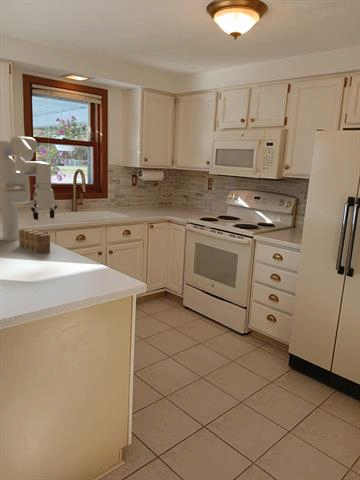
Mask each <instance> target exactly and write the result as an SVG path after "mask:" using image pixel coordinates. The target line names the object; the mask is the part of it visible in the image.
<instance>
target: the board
mask: <svg viewBox="0 0 360 480" xmlns="http://www.w3.org/2000/svg"><path fill="white" fill-rule="evenodd" d="M16 248H18V249H21V250H24V251H27V252H31V253H33V254H36V255H39V256H40V255H42V254H41V253H40V252H35V250H32V251H31V250H29V249H25V248H24V247H19V246H16ZM51 253H53V251H51V250H50V252H49V253H44V254H43V255H46V254H51Z"/></svg>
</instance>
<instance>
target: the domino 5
mask: <svg viewBox="0 0 360 480" xmlns="http://www.w3.org/2000/svg"><path fill="white" fill-rule="evenodd" d="M39 237H40V253H41V255H45V254H44V253H47V254H50V253H49V252H50V251H51V234H49V233H46V234H45V233H44V235H39Z"/></svg>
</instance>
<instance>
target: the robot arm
mask: <svg viewBox="0 0 360 480" xmlns="http://www.w3.org/2000/svg"><path fill="white" fill-rule="evenodd" d="M37 149H38V143H37V141H36V139H35V138H33V137H30V136H18V135H17V136H13V137H11V138H10V140H1V141H0V181H1V184H2V185H3V186H5V187H19V188H4V189H2V190H0V207H1V217H2V218H1V220H2V221H1V222H2V225H1V226H2V236H1V237H0V241H2V242H3V241H4V242H7V241H19V230H20V213H19V209H18V208H17V207H16V206H15V205H24V204H25V205H26V204H28V205H27V206H28V207H29V210H31V212H32V216H33V217H32V218H33V220H34V221H38V220H39V212H38V211H39V210H40V209H41V210H44V209H49V218H50V219H55V212H56V210H57V208H58V205H59V202H58V201H56V200H55V193H54V190H53V189H52V165H51V164H50V163H49V162H44V161H35V160H34V161H32V159H33V158H34V156H35V155H34V153H36V152H37ZM12 157H15V160H14V159H13V158H12ZM29 177H35V184H33V187H34V188H35V189H34V194H33V200H32V201H30V200H31V187H30V186H31V185H30V178H29Z"/></svg>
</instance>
